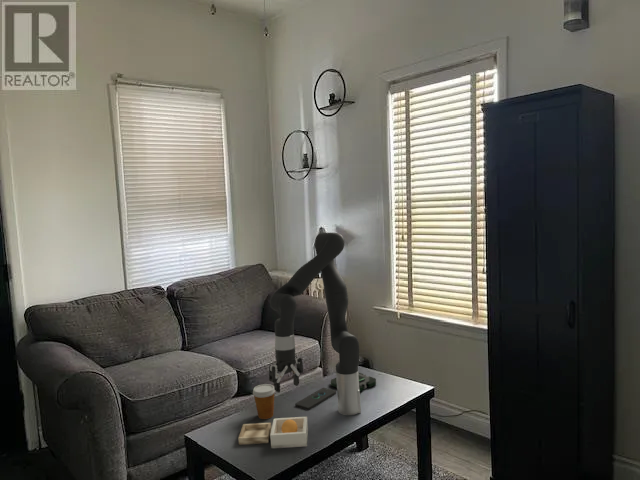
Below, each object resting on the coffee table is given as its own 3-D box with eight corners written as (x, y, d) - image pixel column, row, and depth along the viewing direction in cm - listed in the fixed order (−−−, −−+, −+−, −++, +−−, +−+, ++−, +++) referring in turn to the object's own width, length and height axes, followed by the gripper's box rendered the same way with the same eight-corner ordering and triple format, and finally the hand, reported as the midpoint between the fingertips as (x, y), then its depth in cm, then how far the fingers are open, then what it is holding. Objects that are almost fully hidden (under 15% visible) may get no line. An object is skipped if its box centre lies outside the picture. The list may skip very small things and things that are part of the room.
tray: (271, 428, 190) (270, 422, 190) (268, 442, 179) (267, 436, 179) (243, 430, 191) (243, 424, 190) (238, 444, 180) (238, 438, 179)
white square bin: (307, 428, 188) (307, 416, 188) (306, 446, 175) (306, 433, 175) (274, 430, 188) (273, 418, 188) (271, 448, 175) (270, 435, 175)
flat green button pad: (354, 375, 241) (353, 366, 240) (380, 384, 227) (380, 375, 226) (326, 386, 230) (326, 376, 229) (352, 397, 216) (352, 387, 215)
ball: (298, 431, 185) (297, 416, 184) (297, 439, 179) (296, 423, 178) (282, 432, 185) (281, 417, 184) (281, 440, 179) (280, 424, 178)
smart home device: (337, 390, 220) (309, 407, 204) (337, 394, 220) (309, 411, 204) (322, 387, 225) (294, 403, 209) (323, 390, 225) (294, 407, 209)
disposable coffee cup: (273, 421, 196) (271, 393, 195) (251, 420, 198) (249, 392, 197) (280, 410, 206) (278, 383, 204) (258, 410, 208) (256, 383, 206)
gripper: (294, 340, 188) (295, 380, 189) (263, 348, 178) (265, 391, 180) (306, 344, 182) (308, 385, 183) (275, 353, 173) (277, 396, 174)
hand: (287, 388), depth 182 cm, fingers open, 8 cm apart
